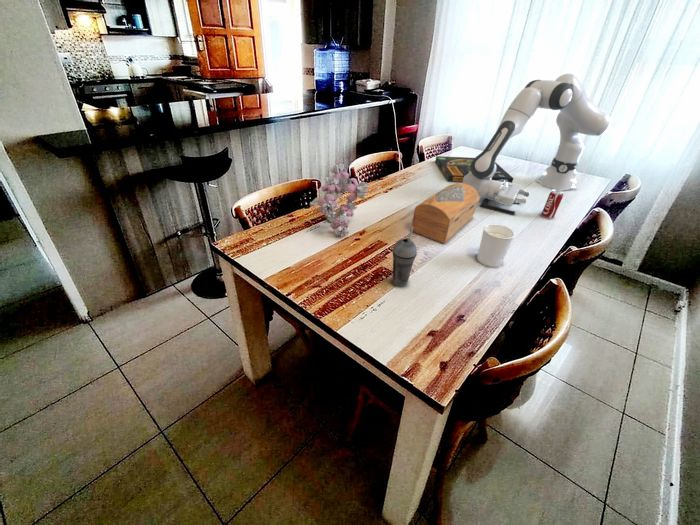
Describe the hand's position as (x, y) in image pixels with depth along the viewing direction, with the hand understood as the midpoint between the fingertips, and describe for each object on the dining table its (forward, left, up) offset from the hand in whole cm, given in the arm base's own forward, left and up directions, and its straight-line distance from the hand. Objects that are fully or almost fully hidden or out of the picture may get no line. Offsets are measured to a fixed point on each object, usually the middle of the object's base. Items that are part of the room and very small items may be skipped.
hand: (527, 198), depth 148 cm
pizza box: (-39, -35, -6) cm, 53 cm away
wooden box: (+36, -27, -6) cm, 45 cm away
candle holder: (+53, -4, -6) cm, 54 cm away
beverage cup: (+83, -25, -6) cm, 87 cm away
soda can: (0, +10, -6) cm, 12 cm away
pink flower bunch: (+65, -60, -6) cm, 89 cm away
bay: (0, -10, -6) cm, 12 cm away
